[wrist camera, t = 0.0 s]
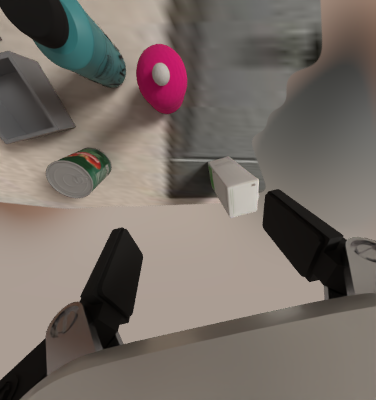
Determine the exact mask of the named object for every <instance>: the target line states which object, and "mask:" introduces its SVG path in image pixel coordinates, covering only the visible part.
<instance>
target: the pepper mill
mask: <svg viewBox="0 0 376 400" xmlns="http://www.w3.org/2000/svg"><path fill="white" fill-rule="evenodd" d="M136 77H137V83H138V86H139V89H140V92H141V93H142V95H143V97H144V98H145V99H146V101H147V102H148V103H150V104H151V105H152V107H153V108H154V109H155V110H157V111H158V112H160V113H164V114H170V113H173V112H175V111H176V110H177V109H179V107H180V106H181V104H182V102H183V99H184V95H185V92H186V88H187V74H186V69H185V66H184V64H183V61H182V60H181V58H180V56H179V55H178V54H177V53H176V52H175V51H174V50H173V49H172V48H170V47H168V46H167V45H163V44H155V45H152V46H150V47H148V48H147V49H146V50H144V52H143V53H142V54H141V56H140V58H139V61H138V64H137V70H136Z"/></svg>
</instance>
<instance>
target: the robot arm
mask: <svg viewBox="0 0 376 400" xmlns="http://www.w3.org/2000/svg"><path fill="white" fill-rule="evenodd" d="M263 228H264V230H265V231H266V232H267V234H268V235H269V236H270V237H271V238H272V240H273V241H274V242H275V244H276V245H277V246H278V247H279V249H280V250H281V251H282V252H283V254H284V255H285V256H286V258H287V259H288V260H289V261H290V262H291V264H292V265H293V266H294V268H295V269H296V270H297V271H298V273H299V274H300V275H301V276H303V277H305V278H306V279H307V280H308V281H309V282H311V281H316V280H320V281H321V283H322V284H323V285H324V295H325V300H323V301H318V302H313V303H308V304H304V305H299V306H294V307H289V308H285V309H280V310H276V311H271V312H266V313H261V314H257V315H252V316H248V317H243V318H239V319H234V320H229V321H225V322H220V323H216V324H211V325H207V326H203V327H198V328H193V329H189V330H185V331H180V332H175V333H171V334H167V335H162V336H158V337H153V338H149V339H145V340H140V341H135V342H131V343H128V344H123V342H122V340H121V337H120V335H119V333H118V328H119V325H120V324H125V323H128V322H129V318H130V316H131V315H132V313H133V309H134V304H135V298H136V292H137V287H138V282H139V276H140V271H141V266H142V260H143V254H142V253H141V251H140V250H139V248H138V246H137V245H136V243H135V241H134V240H133V238H132V237H131V235H130V234H129V232H128V230H127V229H124V228H118V229H114V230H113V231H112V232H111V234H110V236H109V239H108V240H107V243H106V245H105V247H104V249H103V251H102V253H101V255H100V257H99V259H98V261H97V263H96V265H95V267H94V269H93V271H92V273H91V275H90V278H89V280H88V282H87V284H86V286H85V288H84V290H83V292H82V294H81V296H80V297H81V300H80V302H73V303H71V304H68V305H67V306H65V307H64V308H63V309H62V310H61V311H60V312H59V313H58V314H57V315H56V316H55V317H54V318H53V320H52V321H51V323H50V325H49V327H48V329H47V331H46V338H45V339H44V340H43V341H42V342H41V343H40V344H39V345H38V346H37V347H36V348H35V349H34V350H32V351H31V352H30V353H29V354H28V355H27V356H26V357H25V358H24V359H23V360H22V361H21V362H19V363H18V364H17V365H16V366H15V367H14V368H13V369H12V370H11V371H10V372H9V373H8V374H7V375H5V376H4V377H3V378H2V379H1V380H0V400H376V241H375V240H371V239H368V238H361V237H353V238H350V239H348V240H346V239H345V238H343V235H342V234H341V233H339V232H338V231H336V230H335V229H334V228H332V227H331V226H329V225H328V224H327V223H325V222H324V221H322V220H321V219H320V218H318V217H317V216H316V215H314V214H313V213H311V212H310V211H308V210H307V209H306V208H304V207H303V206H301V205H300V204H299V203H297V202H296V201H295V200H293V199H292V198H290V197H289V196H288V195H286V194H285V193H283V192H282V191H281V190H279V189H277V190H273V191H269V192H268V193H267V194H266V195H265V203H264V215H263Z"/></svg>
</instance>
